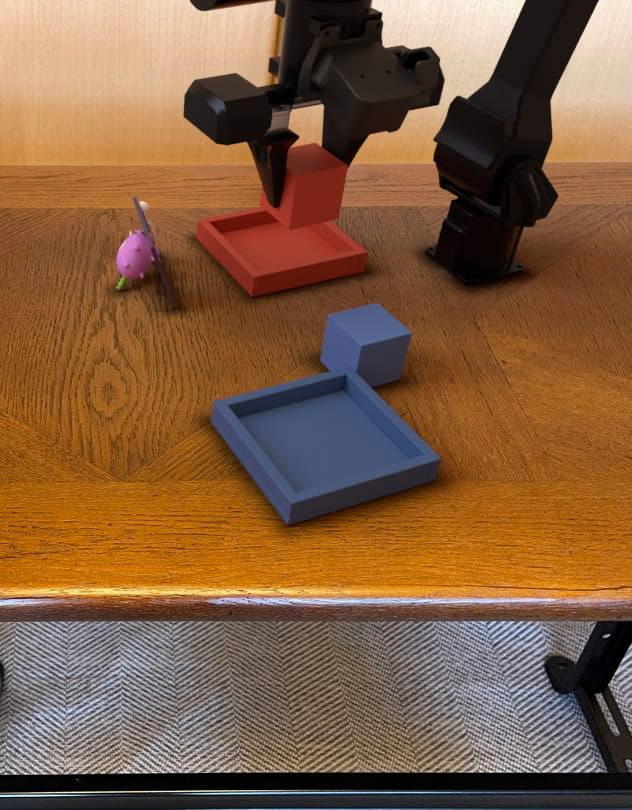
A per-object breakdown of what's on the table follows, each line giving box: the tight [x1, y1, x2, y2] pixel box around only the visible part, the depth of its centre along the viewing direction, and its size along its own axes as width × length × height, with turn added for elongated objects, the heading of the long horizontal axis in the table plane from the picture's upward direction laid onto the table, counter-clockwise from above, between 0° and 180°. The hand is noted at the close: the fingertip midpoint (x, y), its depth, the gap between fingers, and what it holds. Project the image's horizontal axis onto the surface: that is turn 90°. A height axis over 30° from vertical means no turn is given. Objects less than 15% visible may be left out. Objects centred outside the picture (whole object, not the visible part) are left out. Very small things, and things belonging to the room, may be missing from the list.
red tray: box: [196, 206, 369, 298], centre depth 86 cm, size 12×11×2 cm
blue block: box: [319, 302, 413, 388], centre depth 72 cm, size 4×4×4 cm
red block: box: [259, 142, 349, 230], centre depth 72 cm, size 4×4×4 cm
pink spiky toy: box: [115, 196, 177, 310], centre depth 81 cm, size 7×5×9 cm
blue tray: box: [210, 366, 442, 526], centre depth 65 cm, size 12×11×2 cm
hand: (300, 200), depth 72 cm, fingers closed on red block, 4 cm apart
